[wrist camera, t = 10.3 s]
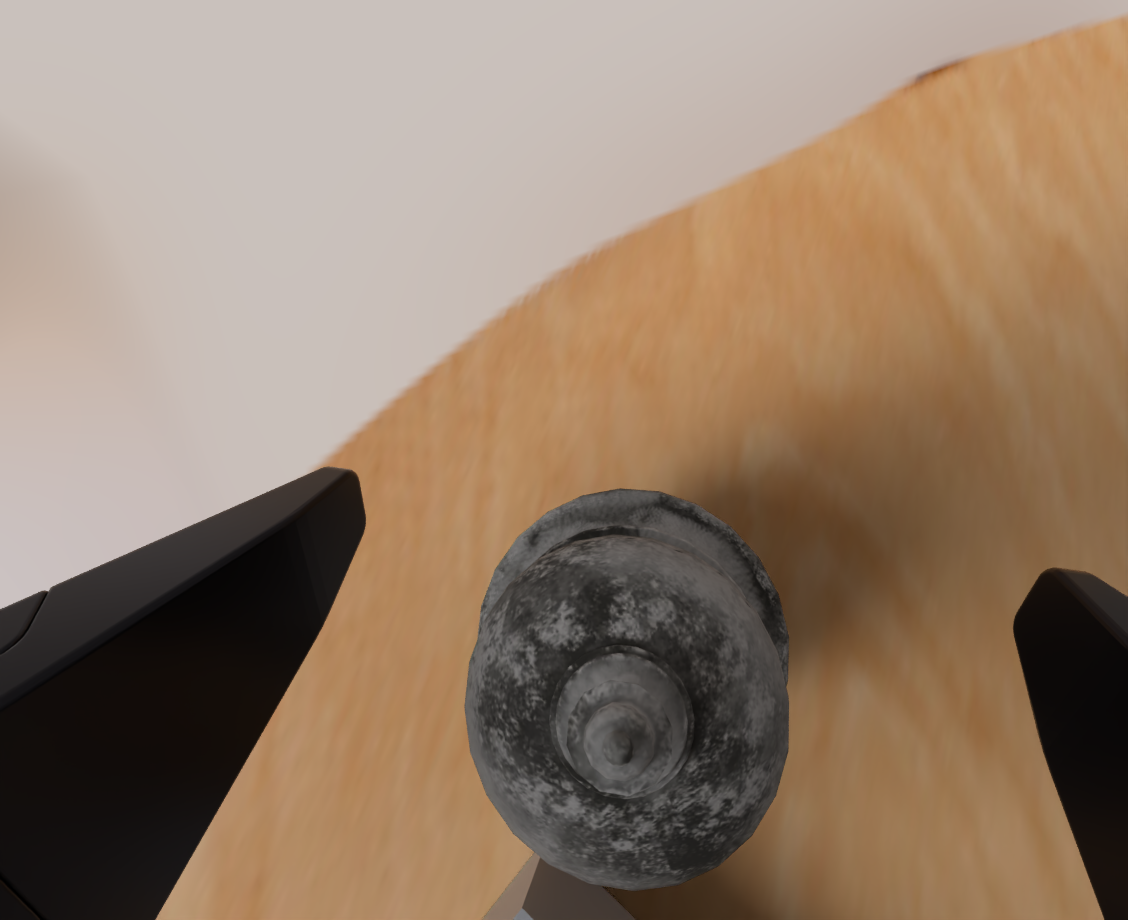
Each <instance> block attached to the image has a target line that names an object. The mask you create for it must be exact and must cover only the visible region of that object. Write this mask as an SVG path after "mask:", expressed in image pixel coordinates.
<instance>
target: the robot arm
mask: <svg viewBox="0 0 1128 920" xmlns="http://www.w3.org/2000/svg"><path fill="white" fill-rule="evenodd" d="M365 526H366V514H365V509H364V504H363V498H362V493H361V487H360V482H359V478H358V476H357V474H356V473H355V472H354V471H352V470H350V469H343V468H336V467H324V468H321V469H319V470H316V471H314V472H312V473H310V474H307V475H305V476H303V477H301V478H298V479H296V480H294V481H291V482H289V483H287V484H285V485H283V486H280V487H278V488H276V489H274V490H271V491H269V492H266V493H264V494H262V495H260V496H257V497H255V498H253V499H251V500H248V501H246V502H244V503H242V504H239V505H237V506H235V507H232V508H230V509H228V510H226V511H223V512H221V513H219V514H216V515H214V516H212V517H210V518H207V519H205V520H203V521H201V522H198V523H196V524H194V525H191V526H189V527H187V528H185V529H182V530H180V531H178V532H175V533H173V534H171V535H169V536H166V537H164V538H162V539H160V540H157V541H155V542H153V543H150V544H149V545H146V546H144V547H141V548H139V549H137V550H134V551H132V552H130V553H128V554H126V555H123V556H121V557H119V558H116V559H114V560H112V561H109V562H107V563H105V564H103V565H100V566H98V567H96V568H93V569H91V570H89V571H87V572H84V573H82V574H80V575H78V576H75V577H73V578H71V579H69V580H66V581H64V582H62V583H59V584H57V585H55V586H53V587H51V588H50V590H49V592H48V591H41V592H38V593H36V594H34V595H32V596H30V597H27V598H25V599H23V600H21V601H18V602H16V603H14V604H12V605H9V606H7V607H5V608H2V609H0V920H155V919H156V918H157V916H158V914H159V912H160V911H161V909H162V907H163V905H164V904H165V902H166V900H167V898H168V897H169V895H170V893H171V891H172V890H173V888H174V886H175V884H176V883H177V881H178V879H179V878H180V876H181V874H182V872H183V871H184V869H185V867H186V865H187V864H188V862H189V860H190V858H191V857H192V855H193V853H194V851H195V850H196V848H197V846H198V844H199V843H200V841H201V839H202V837H203V836H204V834H205V832H206V830H207V829H208V827H209V825H210V823H211V822H212V820H213V818H214V816H215V815H216V813H217V811H218V809H219V808H220V806H221V804H222V802H223V801H224V799H225V797H226V795H227V794H228V792H229V790H230V788H231V787H232V785H233V783H234V781H235V780H236V778H237V776H238V774H239V773H240V771H241V769H242V767H243V766H244V764H245V762H246V760H247V759H248V757H249V755H250V753H251V752H252V750H253V748H254V747H255V745H256V743H257V741H258V740H259V738H260V736H261V734H262V733H263V731H264V729H265V727H266V726H267V724H268V722H269V720H270V719H271V717H272V715H273V713H274V712H275V710H276V708H277V706H278V705H279V703H280V701H281V699H282V698H283V696H284V694H285V692H286V691H287V689H288V687H289V685H290V684H291V682H292V680H293V678H294V677H295V675H296V673H297V671H298V670H299V668H300V666H301V664H302V663H303V661H304V659H305V657H306V656H307V654H308V652H309V650H310V649H311V647H312V645H313V643H314V642H315V640H316V638H317V636H318V634H319V632H320V631H321V629H322V627H323V625H324V623H325V621H326V619H327V617H328V614H329V612H330V610H331V608H332V605H333V603H334V601H335V599H336V596H337V594H338V592H339V589H340V587H341V585H342V582H343V580H344V578H345V575H346V573H347V571H348V569H349V566H350V564H351V562H352V559H353V557H354V555H355V552H356V550H357V548H358V545H359V543H360V541H361V539H362V536H363V534H364V530H365ZM1013 632H1014V638H1015V642H1016V646H1017V650H1018V654H1019V658H1020V662H1021V666H1022V670H1023V674H1024V678H1025V682H1026V687H1027V691H1028V695H1029V699H1030V703H1031V707H1032V711H1033V715H1034V719H1035V723H1036V727H1037V731H1038V735H1039V738H1040V742H1041V745H1042V749H1043V752H1044V756H1045V758H1046V761H1047V764H1048V767H1049V770H1050V773H1051V776H1052V779H1053V782H1054V784H1055V787H1056V790H1057V792H1058V795H1059V798H1060V801H1061V803H1062V806H1063V809H1064V811H1065V814H1066V817H1067V819H1068V822H1069V825H1070V828H1071V830H1072V833H1073V836H1074V838H1075V841H1076V844H1077V847H1078V849H1079V852H1080V855H1081V857H1082V860H1083V863H1084V866H1085V868H1086V871H1087V874H1088V876H1089V879H1090V882H1091V885H1092V887H1093V890H1094V893H1095V895H1096V898H1097V901H1098V904H1099V906H1100V909H1101V912H1102V914H1103V917H1104V920H1128V597H1127V596H1125V595H1124V594H1122V593H1121V592H1119V591H1118V590H1116V589H1115V588H1113V587H1111V586H1110V585H1108V584H1107V583H1105V582H1104V581H1102V580H1101V579H1099V578H1098V577H1096V576H1094V575H1093V574H1090V573H1087V572H1083V571H1077V570H1069V569H1062V568H1049V569H1047V570H1045V571H1044V572H1042V573H1041V574H1040V576H1039V577H1038V579H1037V580H1036V582H1035V584H1034V585H1033V587H1032V588H1031V590H1030V592H1029V593H1028V595H1027V597H1026V598H1025V600H1024V601H1023V603H1022V605H1021V606H1020V608H1019V610H1018V611H1017V613H1016V615H1015V619H1014V624H1013Z"/></svg>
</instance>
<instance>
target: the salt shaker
mask: <svg viewBox="0 0 1128 920" xmlns="http://www.w3.org/2000/svg"><path fill="white" fill-rule="evenodd" d="M788 655H789V635H788V631H787V627H786V623H785V619H784V615H783V611H782V606H781V602H780V598H779V595H778V593H777V591H776V589H775V587H774V585H773V583H772V581H771V580H770V578H769V576H768V574H767V572H766V570H765V568H764V566H763V564H762V563H761V561H760V559H759V557H758V556H757V555H756V554H755V553H754V552H753V551H752V550H751V548H750V547H749V546H748V545H747V544H746V543H745V542H744V541H743V540H742V539H741V537H740V536H739V535H738V534H737V533H736V532H735V531H734V530H733V529H732V528H731V527H730V526H729V525H727V524H726V523H724V522H723V521H721V520H720V519H718V518H717V517H715V516H714V515H712V514H711V513H709V512H708V511H706V510H705V509H703V508H702V507H700V506H698V505H697V504H694V503H691V502H688V501H685V500H683V499H680V498H677V497H674V496H671V495H668V494H665V493H662V492H659V491H646V490H632V489H615V490H610V491H605V492H599V493H594V494H588V495H583V496H580V497H578V498H576V499H574V500H572V501H570V502H568V503H566V504H564V505H561V506H559V507H557V508H555V509H553V510H551V511H549V512H547V513H546V514H545V515H544V516H542V517H541V518H540V519H539V520H538V521H536V522H535V523H534V524H533V525H532V526H530V527H529V528H528V529H527V530H526V531H525V532H523V533H522V534H521V535H520V536H519V537H518V538H517V539H516V541H515V542H514V543H513V545H512V546H511V548H510V549H509V551H508V552H507V553H506V555H505V556H504V558H503V559H502V560H501V562H500V563H499V565H498V566H497V567H496V569H495V572H494V574H493V577H492V579H491V582H490V585H489V587H488V590H487V593H486V595H485V598H484V600H483V603H482V606H481V613H480V622H479V631H478V639H477V642H476V645H475V648H474V651H473V653H472V656H471V659H470V662H469V671H468V680H467V689H466V698H465V715H466V722H467V730H468V738H469V746H470V753H471V755H472V758H473V760H474V763H475V766H476V768H477V771H478V774H479V776H480V779H481V781H482V784H483V787H484V789H485V792H486V795H487V796H488V798H489V799H490V801H491V802H492V804H493V805H494V806H495V808H496V809H497V811H498V812H499V814H500V815H501V817H502V818H503V819H504V821H505V822H506V824H507V825H508V827H509V828H510V830H511V831H512V832H513V834H514V835H515V836H517V837H518V838H519V839H520V840H521V841H522V842H523V843H525V844H526V845H527V846H528V847H529V848H530V849H532V850H533V851H534V852H535V853H536V854H537V855H539V856H540V857H541V858H542V859H543V860H544V861H545V862H547V863H548V864H549V865H551V866H553V867H556V868H558V869H560V870H562V871H564V872H566V873H568V874H570V875H572V876H574V877H576V878H579V879H581V880H583V881H585V882H587V883H589V884H594V885H600V886H606V887H612V888H618V889H624V890H630V891H638V890H646V889H653V888H660V887H668V886H675V885H679V884H682V883H684V882H686V881H688V880H690V879H692V878H694V877H696V876H699V875H701V874H703V873H705V872H707V871H709V870H711V869H713V868H716V867H718V866H719V865H720V864H721V863H723V862H724V861H725V860H726V859H727V858H728V857H729V856H730V855H731V854H732V853H733V852H735V851H736V850H737V849H738V848H739V847H740V846H741V845H742V844H743V843H744V842H745V841H747V840H748V839H749V838H750V837H751V836H752V835H753V833H754V831H755V830H756V828H757V826H758V825H759V823H760V821H761V820H762V818H763V816H764V815H765V813H766V811H767V810H768V808H769V806H770V805H771V803H772V801H773V800H774V798H775V796H776V794H777V790H778V786H779V783H780V779H781V775H782V772H783V768H784V765H785V761H786V757H787V754H788V739H789V698H788V693H787V689H786V685H787V682H788Z"/></svg>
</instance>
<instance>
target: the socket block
mask: <svg viewBox="0 0 1128 920" xmlns="http://www.w3.org/2000/svg"><path fill="white" fill-rule="evenodd" d="M482 920H636V919H635V918H634V917H633V916H632V915H631V914H630V913H629V912H628V911H627V910H626V909H625V908H624V907H623V906H622V905H620V904H619V903H618V902H617V901H616V900H615V899H614V898H613V897H612V896H611V895H610V894H609V893H608V892H607V891H606V890H605V889H604V888H603V887H602V886H600V885H594V884H589V883H587V882H585V881H583V880H581V879H579V878H576V877H574V876H572V875H570V874H568V873H566V872H564V871H562V870H560V869H558V868H556V867H553V866H551V865H549V864H548V863H547V862H545V861H544V860H543V859H542V858H541V857H540V856H539V855H537V854H536V853H535V852H534V853H533V855H532V856H531V857H530V858H529V860H528V861H527V862H526V864H525V865H524V866H523V867H522V869H521V870H520V871H519V873H518V874H517V875H516V876H515V878H514V879H513V880H512V882H511V883H510V884H509V885H508V887H507V888H506V889H505V891H504V892H503V893H502V894H501V896H500V897H499V898H498V900H497V901H496V902H495V903H494V905H493V906H492V907H491V909H490V910H489V911H488V912H487V914H486V915H485V916H484V918H483V919H482Z"/></svg>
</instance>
